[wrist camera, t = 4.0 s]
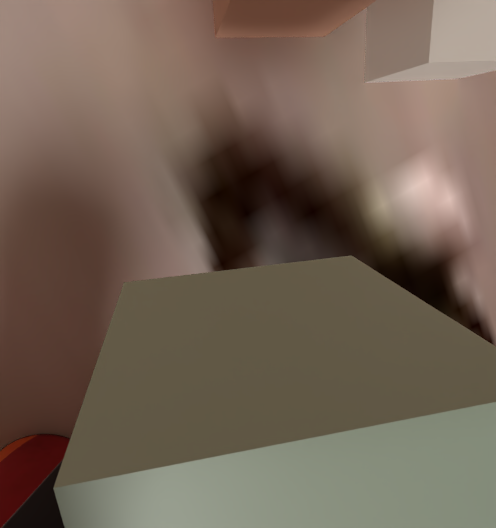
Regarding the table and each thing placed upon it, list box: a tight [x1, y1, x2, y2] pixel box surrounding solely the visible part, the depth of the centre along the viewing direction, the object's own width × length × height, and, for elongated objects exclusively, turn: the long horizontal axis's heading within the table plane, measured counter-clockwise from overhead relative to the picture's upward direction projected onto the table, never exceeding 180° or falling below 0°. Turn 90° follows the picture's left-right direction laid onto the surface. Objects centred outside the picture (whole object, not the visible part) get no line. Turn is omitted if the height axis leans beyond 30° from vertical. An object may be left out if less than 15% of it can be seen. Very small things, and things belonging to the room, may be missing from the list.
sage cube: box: [53, 256, 496, 528], centre depth 7 cm, size 5×5×5 cm
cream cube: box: [364, 0, 496, 83], centre depth 16 cm, size 5×5×5 cm
